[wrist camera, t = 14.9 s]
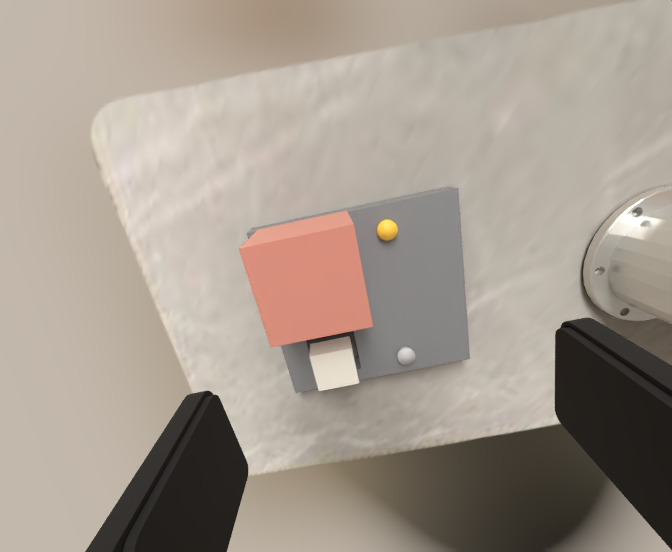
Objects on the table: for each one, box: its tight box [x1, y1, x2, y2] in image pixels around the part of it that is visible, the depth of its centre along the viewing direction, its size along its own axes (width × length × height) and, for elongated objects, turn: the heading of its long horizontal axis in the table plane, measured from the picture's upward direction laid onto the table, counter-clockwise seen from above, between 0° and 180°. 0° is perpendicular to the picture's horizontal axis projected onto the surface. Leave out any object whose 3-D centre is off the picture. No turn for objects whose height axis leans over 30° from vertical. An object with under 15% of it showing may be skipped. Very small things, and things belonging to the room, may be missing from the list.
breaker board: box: [247, 187, 470, 393], centre depth 28 cm, size 17×16×3 cm
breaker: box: [309, 336, 359, 391], centre depth 28 cm, size 4×4×2 cm
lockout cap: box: [239, 210, 373, 347], centre depth 23 cm, size 7×7×6 cm
